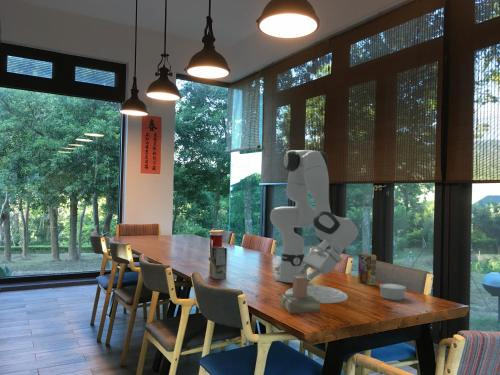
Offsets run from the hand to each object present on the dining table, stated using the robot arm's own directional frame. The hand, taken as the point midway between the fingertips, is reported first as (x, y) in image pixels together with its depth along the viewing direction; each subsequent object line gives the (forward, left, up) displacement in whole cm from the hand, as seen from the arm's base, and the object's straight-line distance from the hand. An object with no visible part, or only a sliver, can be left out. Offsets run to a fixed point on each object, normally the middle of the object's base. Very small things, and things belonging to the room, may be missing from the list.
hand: (304, 275), depth 159 cm
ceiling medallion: (-19, +13, -13) cm, 26 cm away
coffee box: (-61, -26, -13) cm, 67 cm away
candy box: (-38, +49, -13) cm, 63 cm away
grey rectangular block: (0, -2, -8) cm, 9 cm away
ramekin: (-10, +46, -13) cm, 49 cm away
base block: (0, -2, -13) cm, 13 cm away
